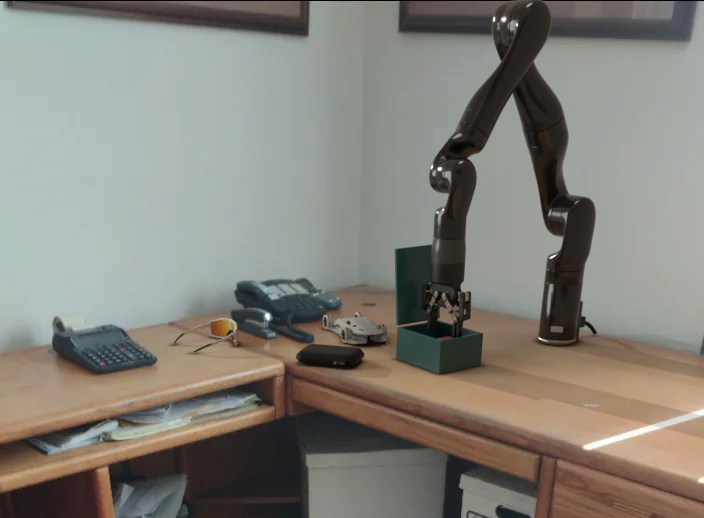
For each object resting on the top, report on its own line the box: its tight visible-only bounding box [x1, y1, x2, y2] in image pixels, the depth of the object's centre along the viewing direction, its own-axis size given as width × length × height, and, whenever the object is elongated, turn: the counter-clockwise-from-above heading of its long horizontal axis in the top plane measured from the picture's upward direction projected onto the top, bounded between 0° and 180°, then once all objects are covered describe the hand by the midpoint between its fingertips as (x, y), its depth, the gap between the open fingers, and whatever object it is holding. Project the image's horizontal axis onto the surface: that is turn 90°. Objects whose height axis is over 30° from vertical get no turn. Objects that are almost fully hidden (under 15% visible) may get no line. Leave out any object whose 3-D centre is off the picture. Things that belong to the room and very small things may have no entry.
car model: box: [322, 311, 388, 345], centre depth 238 cm, size 11×24×5 cm, turn 21°
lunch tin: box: [395, 319, 484, 375], centre depth 216 cm, size 16×13×7 cm
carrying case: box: [295, 343, 366, 369], centre depth 217 cm, size 11×3×15 cm
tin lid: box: [394, 243, 441, 326], centre depth 217 cm, size 16×13×5 cm
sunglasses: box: [172, 317, 239, 354], centre depth 231 cm, size 14×15×5 cm
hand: (444, 335), depth 214 cm, fingers open, 8 cm apart
